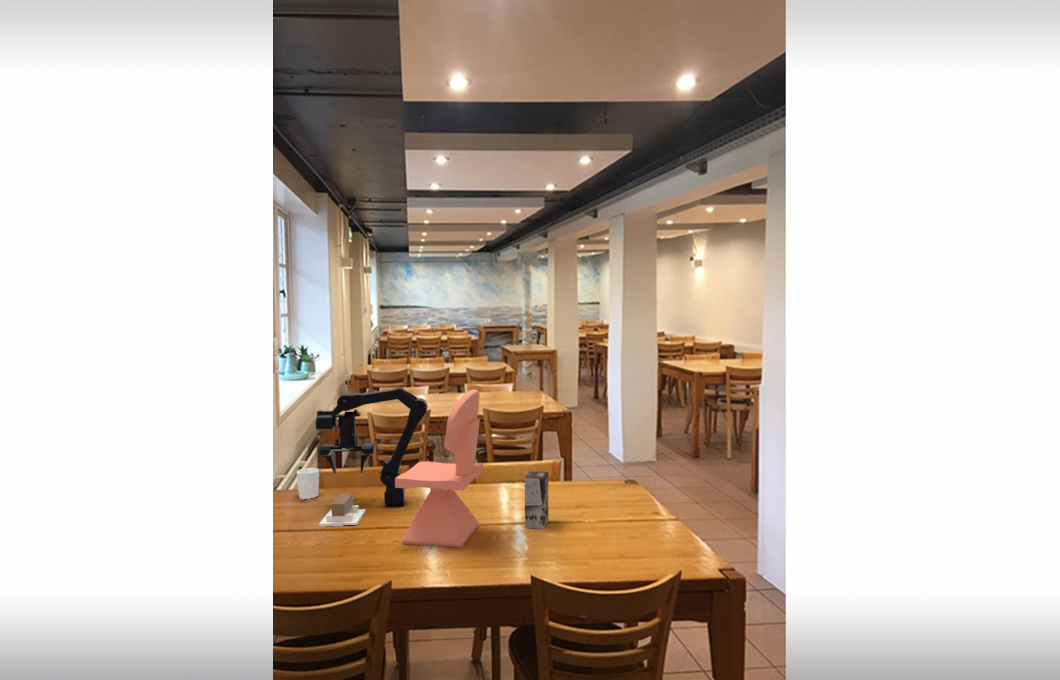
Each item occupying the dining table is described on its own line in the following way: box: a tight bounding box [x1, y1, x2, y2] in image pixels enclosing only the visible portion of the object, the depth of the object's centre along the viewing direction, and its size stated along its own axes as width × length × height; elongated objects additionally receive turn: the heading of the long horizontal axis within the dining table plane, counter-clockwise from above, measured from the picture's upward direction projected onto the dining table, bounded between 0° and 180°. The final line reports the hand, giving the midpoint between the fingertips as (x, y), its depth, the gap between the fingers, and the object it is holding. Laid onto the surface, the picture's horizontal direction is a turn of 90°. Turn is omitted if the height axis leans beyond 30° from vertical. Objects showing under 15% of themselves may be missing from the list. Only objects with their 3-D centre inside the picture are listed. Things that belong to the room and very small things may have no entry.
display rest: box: [318, 504, 366, 528], centre depth 219 cm, size 12×14×3 cm
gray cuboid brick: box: [331, 492, 354, 516], centre depth 219 cm, size 12×4×4 cm, turn 1°
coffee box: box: [524, 471, 550, 530], centre depth 212 cm, size 9×6×16 cm
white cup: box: [296, 467, 320, 500], centre depth 245 cm, size 8×8×10 cm
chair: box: [395, 388, 484, 549], centre depth 202 cm, size 27×22×45 cm
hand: (348, 473), depth 232 cm, fingers open, 9 cm apart
